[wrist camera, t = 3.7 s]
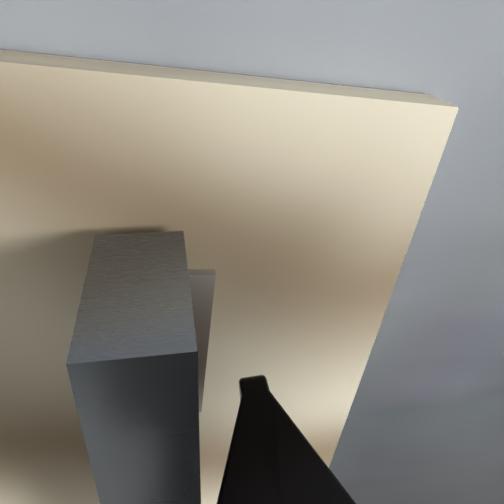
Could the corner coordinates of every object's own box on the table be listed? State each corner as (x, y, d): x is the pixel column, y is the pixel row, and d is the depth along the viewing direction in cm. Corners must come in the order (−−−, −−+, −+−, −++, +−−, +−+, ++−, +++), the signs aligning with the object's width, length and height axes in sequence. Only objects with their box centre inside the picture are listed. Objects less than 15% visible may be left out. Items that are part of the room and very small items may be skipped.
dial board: (281, 552, 18) (289, 586, 17) (-230, 628, 14) (-260, 678, 13) (430, 94, 9) (465, 110, 8) (-928, -49, 5) (-1208, -54, 4)
